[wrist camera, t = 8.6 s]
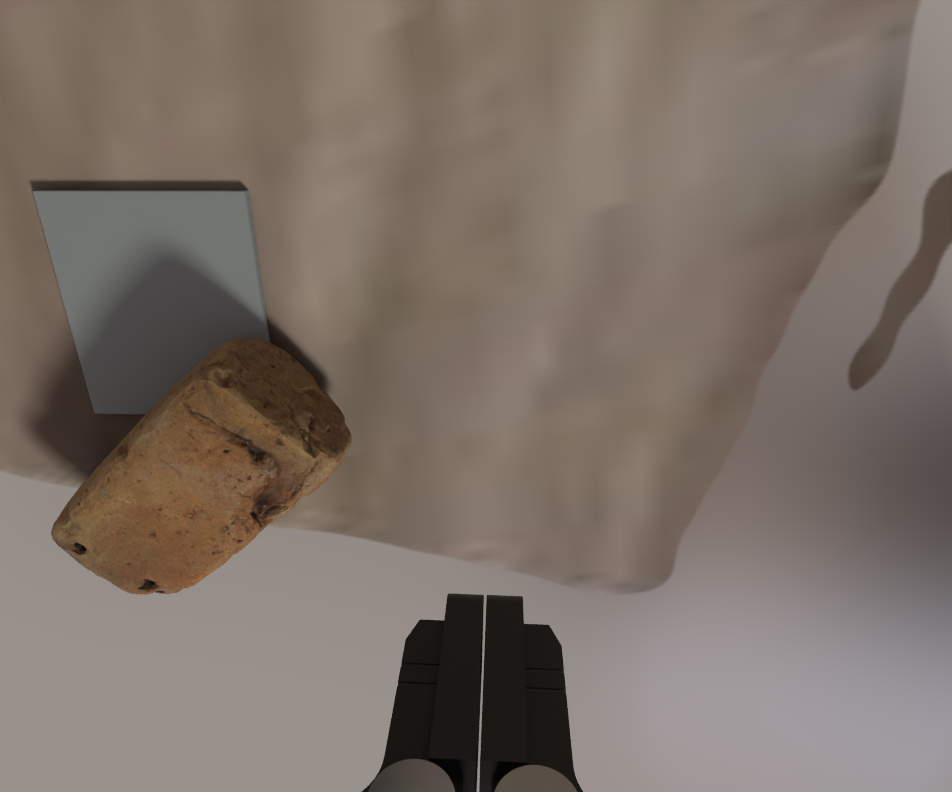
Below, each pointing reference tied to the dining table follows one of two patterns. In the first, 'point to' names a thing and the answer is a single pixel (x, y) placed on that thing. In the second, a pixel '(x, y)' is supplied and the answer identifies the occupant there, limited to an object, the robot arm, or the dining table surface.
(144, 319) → the mat
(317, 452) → the brown rounded piece
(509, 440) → the dining table surface
